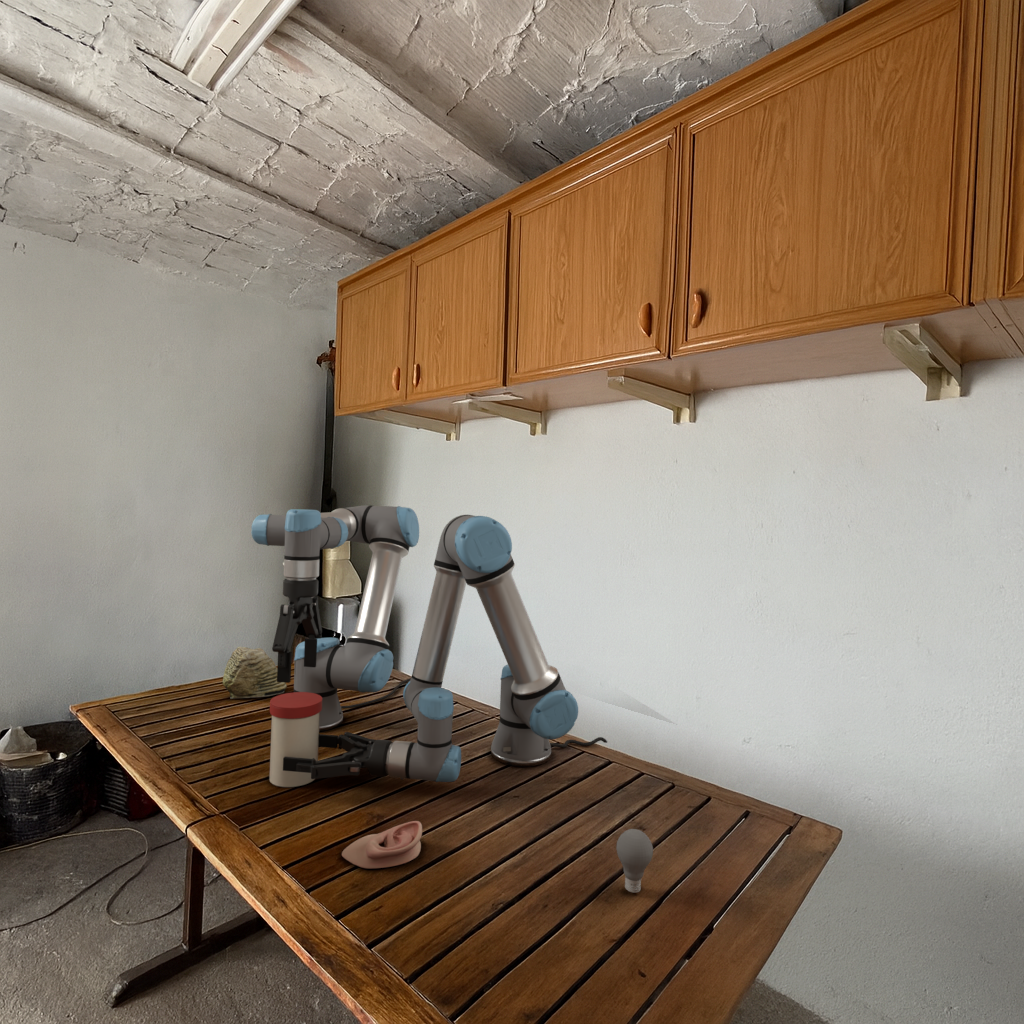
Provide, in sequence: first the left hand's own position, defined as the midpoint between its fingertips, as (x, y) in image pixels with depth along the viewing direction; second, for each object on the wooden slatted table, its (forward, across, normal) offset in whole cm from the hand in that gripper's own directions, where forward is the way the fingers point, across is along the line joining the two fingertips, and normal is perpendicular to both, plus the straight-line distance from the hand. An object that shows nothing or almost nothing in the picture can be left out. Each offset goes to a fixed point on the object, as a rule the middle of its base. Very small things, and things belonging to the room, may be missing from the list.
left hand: (297, 674), depth 142 cm
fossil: (+23, -51, -38) cm, 68 cm away
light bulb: (+23, +28, +74) cm, 82 cm away
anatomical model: (+23, +25, +29) cm, 45 cm away
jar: (+23, 0, 0) cm, 23 cm away
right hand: (+17, +1, +1) cm, 17 cm away
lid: (+6, 0, 0) cm, 6 cm away
